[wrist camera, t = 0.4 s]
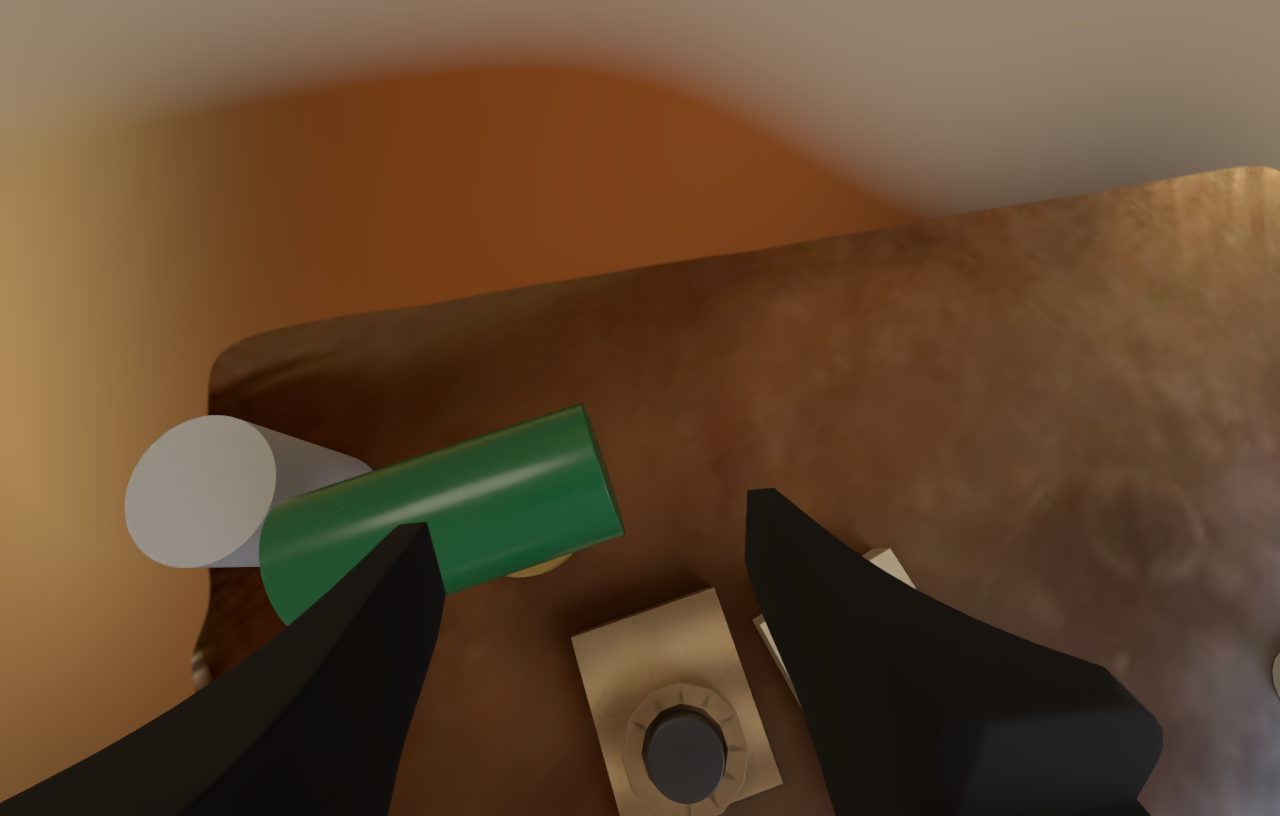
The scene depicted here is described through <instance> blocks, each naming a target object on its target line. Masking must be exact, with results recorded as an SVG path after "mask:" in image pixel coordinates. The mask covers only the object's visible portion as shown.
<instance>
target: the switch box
mask: <svg viewBox="0 0 1280 816" xmlns="http://www.w3.org/2000/svg"><path fill="white" fill-rule="evenodd" d="M571 641H572V644H573V648H574V651H575V655H576V659H577V662H578V666H579V670H580V673H581V677H582V680H583V684H584V688H585V691H586V695H587V699H588V702H589V706H590V709H591V713H592V717H593V720H594V724H595V728H596V731H597V735H598V738H599V742H600V746H601V749H602V753H603V757H604V760H605V764H606V767H607V771H608V775H609V778H610V782H611V786H612V789H613V793H614V796H615V800H616V804H617V807H618V811H619V815H620V816H717V815H720V814H722V813H723V812H724V810H725V809H726V808H727V806H728V805H729V804H730V803H732V802H735V801H738V800H740V799H743V798H746V797H748V796H751V795H754V794H757V793H759V792H762V791H765V790H767V789H770V788H773V787H775V786H778V785H781V784H783V782H782V779H781V776H780V773H779V771H778V768H777V765H776V762H775V759H774V756H773V754H772V751H771V748H770V745H769V742H768V739H767V736H766V734H765V731H764V728H763V725H762V722H761V719H760V716H759V714H758V711H757V708H756V705H755V702H754V699H753V696H752V694H751V691H750V688H749V685H748V682H747V679H746V676H745V674H744V671H743V668H742V665H741V662H740V659H739V656H738V654H737V651H736V648H735V645H734V642H733V639H732V637H731V634H730V631H729V628H728V625H727V622H726V619H725V617H724V614H723V611H722V608H721V605H720V602H719V599H718V597H717V594H716V591H715V588H714V587H712V586H709V587H706V588H703V589H700V590H698V591H695V592H692V593H689V594H686V595H683V596H680V597H677V598H675V599H672V600H669V601H666V602H663V603H660V604H657V605H655V606H652V607H649V608H646V609H643V610H640V611H637V612H634V613H632V614H629V615H626V616H623V617H620V618H617V619H614V620H612V621H609V622H606V623H603V624H600V625H597V626H594V627H592V628H589V629H586V630H583V631H580V632H577V633H575V634H574V635H573V636H572V637H571ZM680 709H687V710H692V711H696V712H698V713H700V714H702V715H703V716H705V717H706V718H707V719H708V720H709V721H710V722H711V723H712V724H713V726H714V727H715V729H716V731H717V733H718V735H719V738H720V741H721V744H722V747H723V750H724V756H725V766H724V772H723V776H722V779H721V781H720V783H719V785H718V787H717V788H716V790H715V791H714V792H713V793H712V794H711V795H710V796H709V797H707V798H706V799H704V800H702V801H700V802H697V803H693V804H682V803H677V802H674V801H672V800H670V799H668V798H667V797H665V796H664V795H663V794H662V793H661V792H660V791H659V790H658V789H657V788H656V786H655V785H654V783H653V781H652V779H651V777H650V774H649V770H648V765H647V750H648V741H649V737H650V734H651V731H652V729H653V727H654V726H655V724H656V723H657V722H658V721H659V720H660V719H661V718H662V717H663V716H664V715H666V714H667V713H669V712H672V711H675V710H680Z"/></svg>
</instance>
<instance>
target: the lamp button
mask: <svg viewBox="0 0 1280 816" xmlns="http://www.w3.org/2000/svg"><path fill="white" fill-rule="evenodd" d="M647 765H648V770H649V774H650V777H651V779H652V781H653V783H654V785H655V786H656V788H657V789H658V790H659V791H660V792H661V793H662V794H663V795H664V796H665V797H667V798H668V799H670V800H672V801H674V802H677V803H682V804H693V803H697V802H700V801H702V800H704V799H706V798H707V797H709V796H710V795H711V794H712V793H713V792H714V791H715V790H716V788H717V787H718V785H719V783H720V781H721V779H722V776H723V772H724V766H725V756H724V750H723V747H722V744H721V741H720V738H719V735H718V733H717V731H716V729H715V727H714V726H713V724H712V723H711V722H710V721H709V720H708V719H707V718H706V717H705V716H703V715H702V714H700V713H698V712H696V711H692V710H687V709H680V710H675V711H672V712H669V713H667V714H666V715H664V716H663V717H662V718H661V719H660V720H659V721H658V722H657V723H656V724H655V726H654V727H653V729H652V731H651V734H650V737H649V741H648V750H647Z"/></svg>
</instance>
